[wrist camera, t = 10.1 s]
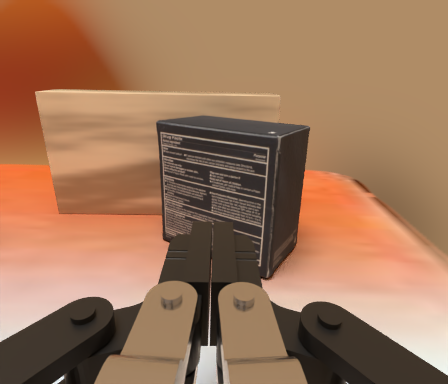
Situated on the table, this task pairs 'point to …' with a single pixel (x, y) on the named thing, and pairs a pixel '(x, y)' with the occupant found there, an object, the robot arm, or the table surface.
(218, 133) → the small box
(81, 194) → the maple board
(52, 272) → the table surface
